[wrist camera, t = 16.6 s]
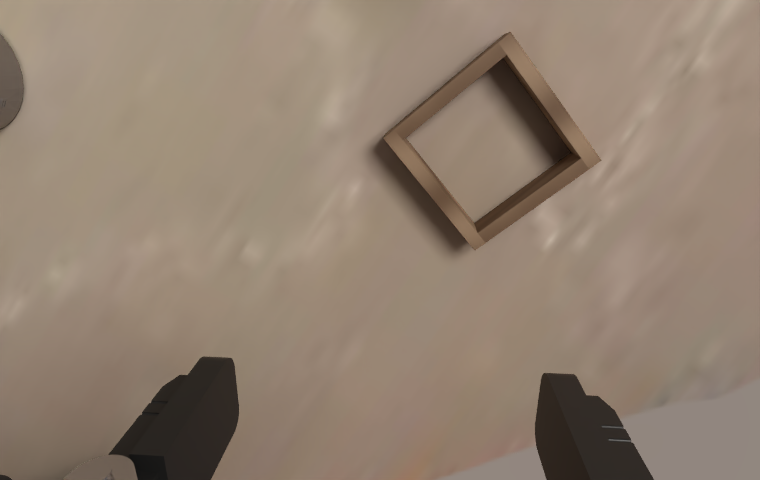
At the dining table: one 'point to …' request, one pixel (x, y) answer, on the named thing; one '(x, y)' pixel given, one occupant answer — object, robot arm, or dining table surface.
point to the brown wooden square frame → (532, 192)
